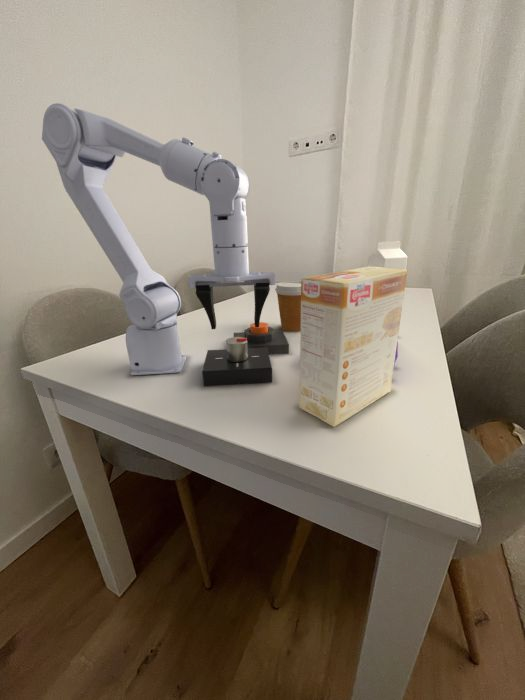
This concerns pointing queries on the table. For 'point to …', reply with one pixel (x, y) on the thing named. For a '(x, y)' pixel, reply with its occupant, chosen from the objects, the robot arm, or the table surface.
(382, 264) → the milk
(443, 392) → the table surface
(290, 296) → the disposable coffee cup
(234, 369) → the dial panel
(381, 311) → the coffeecake box
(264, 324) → the button
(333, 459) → the table surface
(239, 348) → the knob
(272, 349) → the button block
